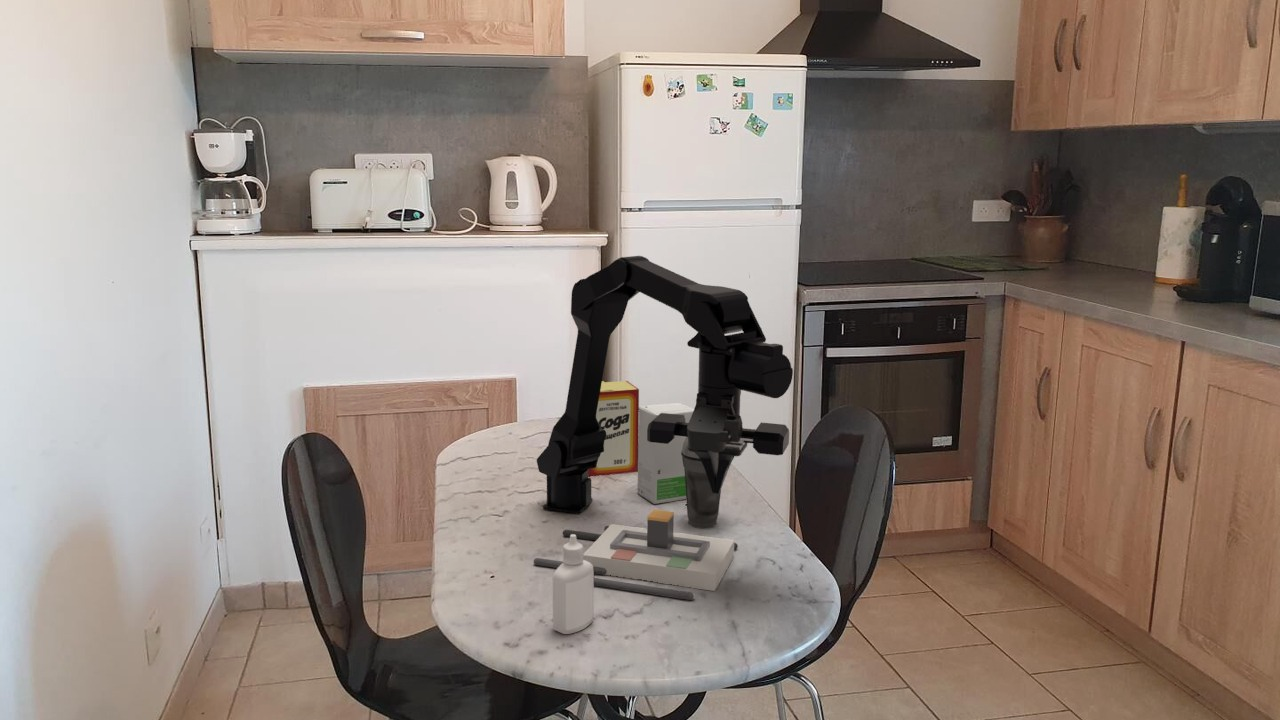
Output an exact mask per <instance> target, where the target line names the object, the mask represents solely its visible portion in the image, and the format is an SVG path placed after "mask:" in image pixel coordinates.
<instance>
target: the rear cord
mask: <svg viewBox="0 0 1280 720" xmlns="http://www.w3.org/2000/svg"><path fill="white" fill-rule="evenodd" d="M609 526H610V525H606V526H604V529H603V530H604V531H605V530H606V529H607V528H608V527H609ZM572 534H575V535H576V538H577V539H583V540H590V541H596V540H597V539H598V538H599V537H600V536H601V535H602V534H603V533H602V534H600V533H593V532H588V531H587V532H586V531H577V530H570V529H564V530H563V531H562V536H564V537H568V538H570V535H572ZM738 546H739V545H738V543H736V542H734V550H737V549H738Z"/></svg>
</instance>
